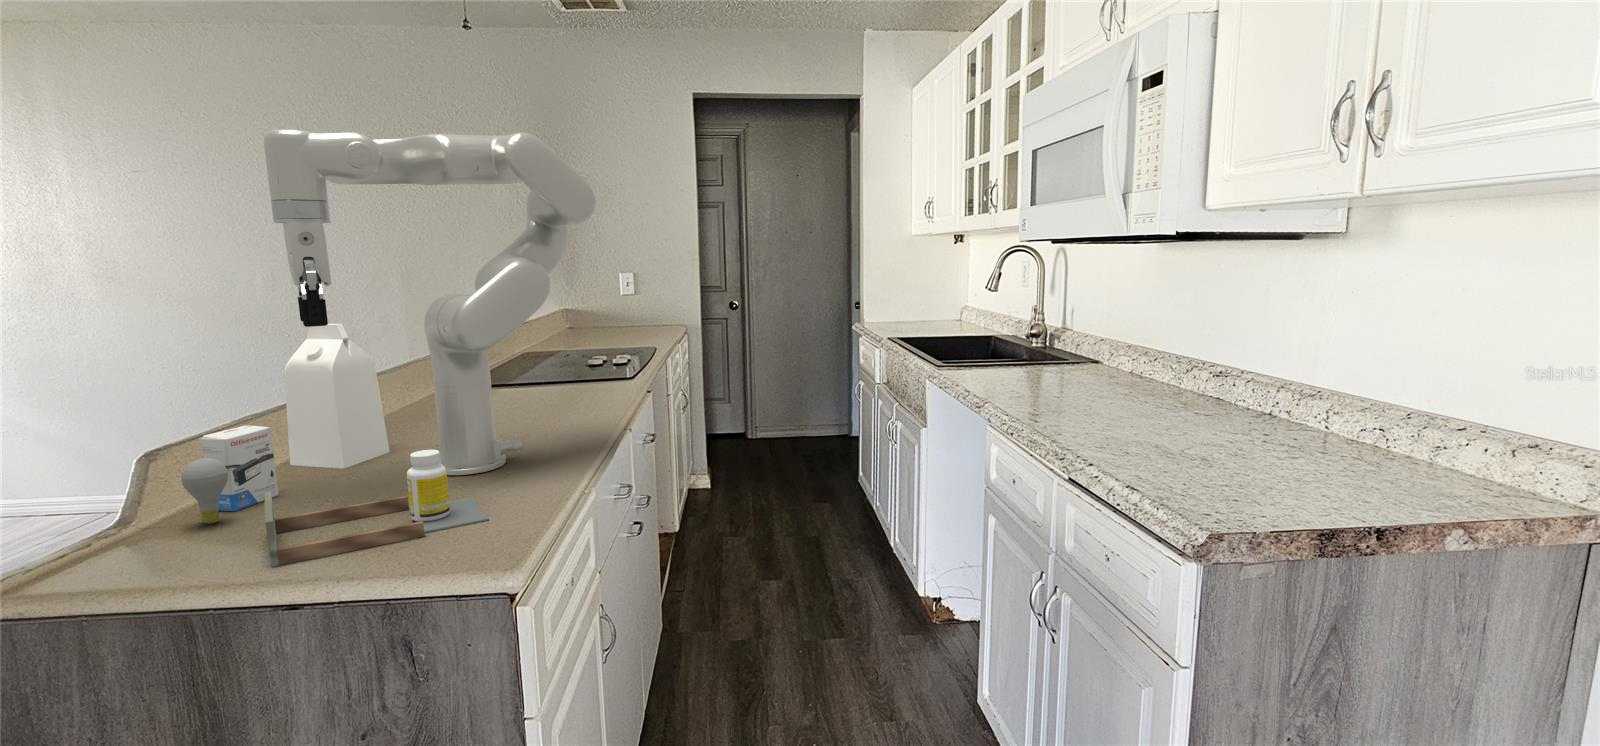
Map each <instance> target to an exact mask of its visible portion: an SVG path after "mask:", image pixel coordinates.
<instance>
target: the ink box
mask: <svg viewBox="0 0 1600 746" xmlns="http://www.w3.org/2000/svg"><path fill="white" fill-rule="evenodd" d="M271 430H272V429H271V427H270V426H261V425H241V426H238V427H234V428H231V429H230V428H229V429H225V430H221V431H217V432H213V433H209V434H204V435H203V436H202V437H200V438H199V439H200V448H201V455H202V458H212V459H216V460H218V461H220V462H221V463H223V464H224V466H225V467H226V469H227V471H228V481H227V483H226V485H225V487H224V489H223V491H222V493H221V495H220V497H219V502H218V503H219V511H223V512H236V511H237V512H238V511H240V510H241V509H244V508H247V507H250V506H253V505H256V504H258V503H261V502H265V498H264V493H267V492H271V495H272V498H274V497H277V496H279V486H278V478H277V469H276V464H275V463H276V462H275V455H274V448H273V446H274V445H273V438H272V431H271Z"/></svg>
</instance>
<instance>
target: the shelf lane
mask: <svg viewBox="0 0 1600 746" xmlns="http://www.w3.org/2000/svg"><path fill="white" fill-rule="evenodd" d="M264 498H265V500H264V517H265V521H264V523H265V529H266V538H267V545H268V552H269V560H270V567H271V568H274V567H279V566H285V565H289V564H295V563H298V562H303V561H304V562H305V561H310V560H313V559H319V558H323V557H329V556H333V555H339V554H343V553H348V552H352V551H358V550H363V549H368V548H373V547H379V546H383V545H387V544H388V545H389V544H394V543H398V542H403V541H407V540H414V539H417V538H423V537H425V535H426V534H425V533H424V524H423V521H420V522H416V521H415V522H410V523H405V524H399V525H395V526H394V525H393V526H390V527H384V528H380V529H374V530H370V531H364V532H360V533H353V534H347V535H343V536H338V537H337V536H336V537H333V538H326V539H322V540H321V539H320V540H317V541H311V542H305V543H301V544H295V545H291V546H290V545H289V546H286V547H285V546H283V547H279V548H278V539H277V535H278V534H281V533H287V532H291V531H298V530H303V529H309V528H314V527H320V526H325V525H330V524H331V525H332V524H335V523H336V524H337V523H342V522H349V521H353V520H358V519H364V518H369V517H375V516H381V515H387V514H391V513H398V512H402V511H410V510H409V508H410V506H409V496H408V495H402V496H398V497H392V498H385V499H381V500H374V501H369V502H362V503H357V504H356V503H355V504H352V505H346V506H340V507H333V508H328V509H323V510H317V511H311V512H305V513H300V514H294V515H293V514H292V515H286V516H283V517H282V516H281V517H276V518H275V513H274V512H275V511H274V506H273V497H272V495H271V492H267V493H264Z"/></svg>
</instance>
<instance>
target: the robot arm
mask: <svg viewBox="0 0 1600 746" xmlns="http://www.w3.org/2000/svg"><path fill="white" fill-rule="evenodd" d="M263 147H264V148H263V149H264V155H265V163H266V172H267V180H268V181H267V182H268V187H269V197H270V204H271V213H272V221H273V224H282V226H283V235H284V242H285V249H286V256H287V262H288V266H289V267H288V268H289V271H290V274H291V275H290V276H291V279H292V282H293V285H294V286H296V287H298V289H297V290H298V297H297V301H298V309H299V319H300V321H301V322H303V323H302V325H303V326H304V327H305V328H308V327H312V326H326V325H328V324H329V320H328V313H327V311H328V310H327V304H326V299H324V290H323V286H322V285H324V286H326V287H330V286H331V285H332V276H331V270H330V262H329V253H328V244H327V238H326V233H325V229H324V228H325V227H324V224H330V223H331V217H330V215H331V214H330V207H329V202H328V201H329V200H328V199H329V198H328V189H327V181H329V182H331V183H333V184H338V185H400V184H401V185H405V184H406V185H421V186H423V185H425V186H436V185H438V186H439V185H443V186H444V185H445V186H446V185H448V186H449V185H511V184H512V185H513V184H520V183H523V184H524V185H526V187H528V188H529V189H530V190H529V192H528V193H527V196H526V200H525V203H526V204H525V206H526V225H525V229H524V230H523V232H522V233H521V234H520V235H519V236H518V237H517V238H516V239H515V240H514V241H513V242H512V243H510V244H509V245H507V246H506V247H505V248H504V249H503V250H502V251H501V252H499V253H498V254H497V255H496V256H494V258H492V259H491V260H489V261H488V262H487V263H485V264H484V265H483V266H482V267H481V268H480V269H479V271H478V272H477V273H476V277H475V278H474V289H475V291H474V292H473V293H472V294H470V295H469V294H461V293H449V294H445V295H442V296H439V297H438V298H436V299H434V301H432V303H430V304H429V306H428V307H427V310H426V312H425V315H424V321H423V323H424V333H425V337H426V342H427V345H428V350H429V355H430V360H431V367H432V368H431V369H432V376H433V377H432V379H433V390H434V400H435V412H436V422H437V432H438V433H437V434H438V444H439V452H440V461H439V464H442V465H443V466H445V468H446V471H447V476H466V475H468V476H469V475H473V474H474V475H475V474H479V473H481V474H482V473H485V472H489V471H493V470H497V469H498V468H500V467H502V466H504V465H505V464H506V462H507V458H506V454H507V452H511V451H512V452H517V451H523V449H524V443H523V441H522V439H517V440H516V439H515V440H512V439H506V440H499V439H498V438H497V437H496V429H495V417H494V415H495V414H494V404H493V392H492V377H491V367H490V362H489V361H490V360H489V357H488V353H487V351H489V350H491V349H493V348H495V347H497V346H498V345H500V344H501V343H502V342H504V341H505V340H506V339H507V338H509V336H511V335H512V334H513V333H514V332H515V331H516V330H518V328H520V327H521V326H522V325H523V324H524V323H525V322H526V321H528V320H529V319H530V318H531V317H533V315H534V314H535V313H536V312H537V311H539V310H540V309H541V307H543V304H544V303H545V302H546V301H547V298H548V297H549V294H550V289H551V281H550V280H551V279H550V275H549V274H550V273H551V272H552V271H553V270H554V269H555V268H556V267H557V266H558V264H560V263H561V261H562V260H563V257H565V253H566V250H567V245H568V225H569V226H570V225H579V224H583V223H584V222H586V221H588V220H589V219H590V218H591V217H592V216H593V214H594V212H595V209H596V206H597V205H596V204H597V203H596V196H595V193H594V191H593V189H592V187H591V186H590V184H589V183H588V182H587V181H586V179H585V178H583V176H581V175H580V173H578V172H577V171H576V169H574V168H573V167H572V166H571V165H570V164H569V163H568V162H567V161H566V160H564V159H563V158H562V157H561V156H560V155H558V153H556V151H554V150H553V149H552V148H551V147H550V146H549V145H548V144H546V143H545V142H544V141H543V140H541V139H540V138H538V137H537V136H535V135H534V134H532V133H528V132H523V131H522V132H521V131H520V132H519V131H518V132H514V133H511V134H510V133H509V134H507V135H506V134H505V135H485V134H484V135H483V134H482V135H481V134H480V135H479V134H478V135H477V134H476V135H475V134H455V133H428V134H420V135H416V136H411V137H402V138H390V139H372V138H370V137H369V136H368V135H366V134H362V133H360V132H356V131H355V132H354V131H341V132H311V131H307V130H302V129H300V130H299V129H282V128H281V129H271V130H269V131H267V132H266V133H265V135H264V136H263ZM326 180H327V181H326Z"/></svg>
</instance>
